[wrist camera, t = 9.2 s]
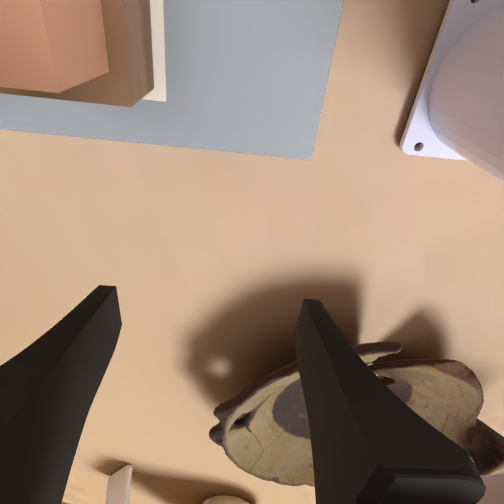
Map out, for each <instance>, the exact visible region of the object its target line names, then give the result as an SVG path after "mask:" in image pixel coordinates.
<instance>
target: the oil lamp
mask: <svg viewBox="0 0 504 504" xmlns="http://www.w3.org/2000/svg"><path fill="white" fill-rule="evenodd" d="M352 348H353V349H354V350H355V352H356V353H357V354H358V355H359V356H360V358H361V359H362V360H363V361H364V362H365V364H366V365H368V364H370V363H371V362H372V361H374V360H376V359H377V358H378V357H380V356H385V355H387V354H393V353H398V352H400V351H401V349H402V345H401V343H399V342H397V341H395V342H376V343H365V344H358V345H353V346H352ZM368 367H369V368H370V369H371V371H372V372H373V373H374V374H378V375H381V376H385V377H389V379H383V380H381V381H382V382H383V383H384V384H385V385H386V386H387V387H388V388H389V389H390V390H391V391H392V392H393V393H394V394H395V395H396V396H397V397H399V398H400V399H401V400H402V401H403V402H404V403H405V404H406V405H407V406H408V407H410V408H411V409H412V410H413V411H414V412H416V413H417V414H418V415H419V416H420V417H422V418H423V419H424V420H425V421H427V422H428V423H429V424H430V425H432V426H433V427H434V428H435V429H437V430H438V431H440V432H441V433H442V434H444V435H445V436H446V437H448V438H449V439H451V440H452V441H453V442H455V443H456V444H458V445H459V446H460V447H462V448H463V449H465V450H466V451H467V452H468V454H469V456H470V457H471V458H472V460H473V462H474V464H475V466H476V468H477V470H478V473H479V474H480V475H481V476H483V477H486V476H489V475H492V474H497V473H504V437H503V436H502V435H500V434H499V433H497V432H496V431H494V430H493V429H492V428H490V427H489V426H487V425H486V424H485V423H483V422H481V421H480V420H479V419H477V416H478V415H479V414H480V410H481V408H482V405H483V401H484V400H483V390H482V387H481V384H480V382H479V381H478V379H477V377H476V375H475V374H474V372H473V371H472V370H470V369H469V368H468V367H467V366H465V365H464V364H463V363H461V362H459V361H456V360H448V359H439V358H438V359H434V358H431V359H408V360H405V359H401V360H395V361H384V362H382V363H375V364H372V365H369V366H368ZM245 413H246V415H245V416H244V417H243V418H240V419H237V418H238V417H239V416H241V415H242V414H245ZM214 415H215V416H216V417H217V418H218V419H219V420H220V422H219V423H218V424H217V425H216V426H214V427H212V429H210V431H209V437H210V439H211V440H212V441H214V442H215V443H216V444H218V445H220V446H222V447H223V448H224V450H225V454H226V455H227V456H228V457H229V459H230V460H231V461H233V462H234V464H236V465H237V466H238V468H241V469H242V470H243V471H245V472H247V473H249V474H251V475H254V476H255V477H258V478H261V479H263V480H267V481H273V482H276V483H278V484H283V485H291V486H300V485H305V484H306V485H309V486H310V487H311V486H315V482H314V470H313V458H312V448H311V438H310V428H309V421H308V415H307V409H306V404H305V399H304V394H303V390H302V385H301V380H300V375H299V370H298V365H297V361H295V362H292V363H290V364H288V365H286V366H284V367H282V368H280V369H278V370H276V371H273V372H271V373H269V374H267V375H265V376H263V377H262V378H260V379H258V380H256V381H255V382H253V383H252V384H250V385H249V386H248V387H246V388H245V389H244V390H243V391H242V392H241V393H239V394H238V395H237V396H235V397H234V398H232V399H231V400H229V401H226V402H224V403H222V404H220V405H219V406H218V407H216V408H215V410H214ZM236 419H237V420H236Z"/></svg>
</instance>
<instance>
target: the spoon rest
mask: <svg viewBox="0 0 504 504" xmlns="http://www.w3.org/2000/svg"><path fill="white" fill-rule="evenodd" d="M132 469H133V468H132V466H131V465H126V466H124V467H123V468H121V469H120V470H118V471H117V472H115V473H114V474H113V475H111V476H110V478H109V480H108V484H107V491H106V504H130V500H129V492H130V483H131V476H132ZM203 504H250V503H248V502H246V501H244V500H243V499H241V498H238V497H235V496H228V495H222V496H215V497H211V498H208V499H207V500H205V501H204V502H203Z"/></svg>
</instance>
